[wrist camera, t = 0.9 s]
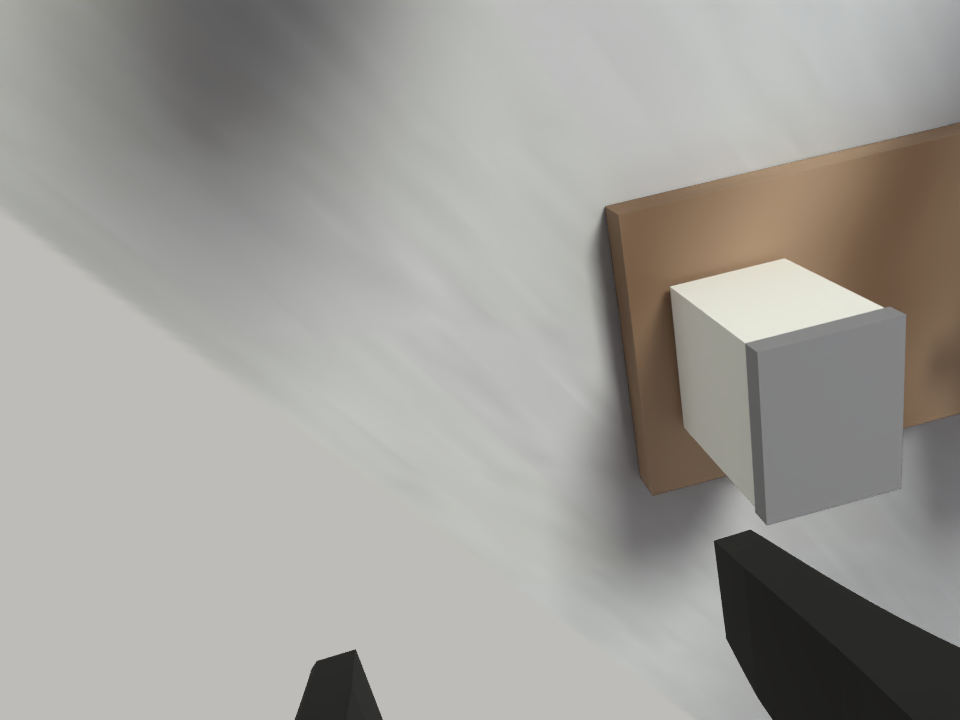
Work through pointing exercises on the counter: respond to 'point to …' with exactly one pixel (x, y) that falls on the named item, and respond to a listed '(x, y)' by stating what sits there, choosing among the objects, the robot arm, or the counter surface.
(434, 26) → the counter surface
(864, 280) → the frame
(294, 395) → the counter surface
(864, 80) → the counter surface
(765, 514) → the block
